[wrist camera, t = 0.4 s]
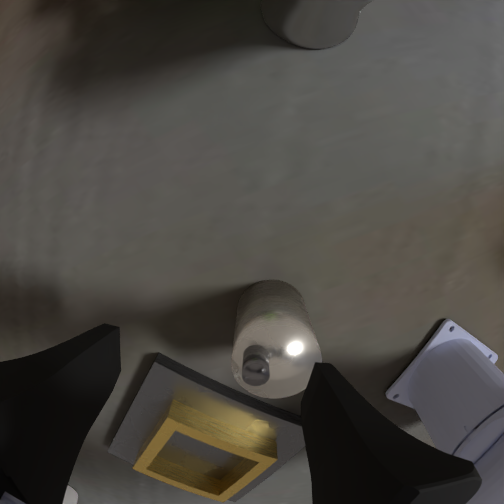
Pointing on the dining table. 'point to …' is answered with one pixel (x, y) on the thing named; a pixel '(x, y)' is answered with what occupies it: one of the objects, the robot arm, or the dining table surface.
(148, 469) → the fill port
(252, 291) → the spout can
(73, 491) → the soft serve ice cream cone
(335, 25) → the beer glass
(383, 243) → the dining table surface
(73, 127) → the dining table surface
